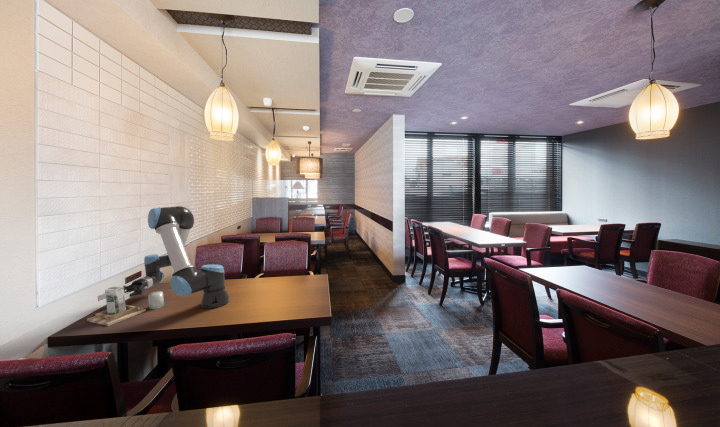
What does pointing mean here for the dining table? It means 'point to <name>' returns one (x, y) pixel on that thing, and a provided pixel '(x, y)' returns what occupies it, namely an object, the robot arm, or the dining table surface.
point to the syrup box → (115, 300)
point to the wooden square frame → (115, 316)
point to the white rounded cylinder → (156, 300)
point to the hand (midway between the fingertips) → (111, 298)
